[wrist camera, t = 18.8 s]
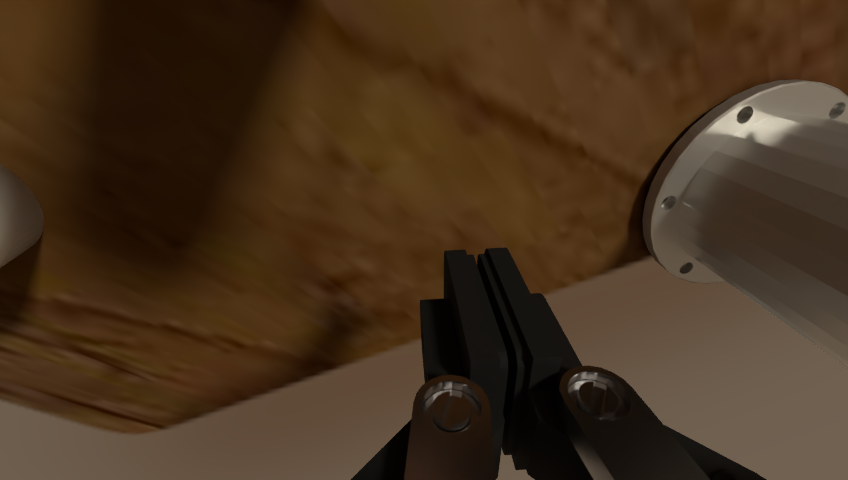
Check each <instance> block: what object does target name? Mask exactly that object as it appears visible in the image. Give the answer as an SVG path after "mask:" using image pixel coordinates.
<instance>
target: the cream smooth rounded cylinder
mask: <svg viewBox="0 0 848 480" xmlns="http://www.w3.org/2000/svg"><path fill="white" fill-rule="evenodd" d="M43 228H44V217H43V212H42V209H41V207H40V204H39V202H38V201H37V199H36V197H35V196H34V194H33V193H32V191H31V190H30V189H29V188H28V187H27V186H26V184H25V183H24V182H23V181H21V180H20V179H19V178H18V177H17V176H16V175H15V174H13V173H12V172H11V171H9V170H8V169H6V168H5V167H3V166H2V165H0V268H1V267H2V266H4V265H5V264H7V263H8V262H10V261H11V260H13V259H14V258H16V257H17V256H19V255H20V254H22V253H23V252H25V251H26V250H27V249H29V248H30V247H32V246H33V245H34V244H35V243H36V242H37V241H38V240H39V238H40V237H41V235H42V232H43Z"/></svg>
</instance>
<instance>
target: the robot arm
mask: <svg viewBox="0 0 848 480" xmlns="http://www.w3.org/2000/svg"><path fill="white" fill-rule="evenodd" d="M642 223H643V236H644V239H645V242H646V245H647V249H648V250H649V252H650V253H651V255H652V256H653V258H654V259H655V261H657V262H658V263H659V264H660V265H661V266H662V267H664V268H665V269H666V270H667V271H668V272H670V273H671V274H673V275H674V276H676V277H678V278H680V279H683V280H687V281H690V282H695V283H718V282H725V281H726V282H728V283H729V284H731V285H732V286H733V287H735V288H736V289H738V290H739V291H741V292H742V293H743V294H745V295H746V296H748V297H749V298H750V299H752V300H753V301H755V302H756V303H757V304H759V305H760V306H761V307H763V308H764V309H766V310H767V311H768V312H770V313H771V314H773V315H774V316H776V317H777V318H778V319H780V320H781V321H782V322H784V323H785V324H787V325H788V326H789V327H791V328H792V329H794V330H795V331H796V332H798V333H799V334H801V335H802V336H803V337H805V338H806V339H808V340H809V341H811V342H812V343H813V344H814V345H816V346H817V347H819V348H820V349H821V350H823V351H824V352H826V353H827V354H829V355H830V356H831V357H833V358H834V359H836V360H837V361H838V362H840V363H841V364H842V365H844V366H845V367H847V368H848V96H847V95H845V94H844V93H843V92H842V91H841V90H839V89H837V88H835V87H832V86H830V85H827V84H824V83H820V82H813V81H806V80H777V81H773V82H769V83H765V84H761V85H757V86H755V87H752V88H750V89H748V90H745V91H743V92H741V93H739V94H736V95H734V96H733V97H731V98H729V99H728V100H726V101H725V102H723V103H721V104H720V105H718V106H717V107H715V108H713V109H712V110H711V111H710V112H708V113H707V114H706V115H705V116H704V117H702V118H701V119H700V120H699V121H697V122H696V123H695V124H694V125H693V126H692V127H691V128H690V129H689V130H688V131H687V132H686V133H685V134H684V135H683V136H682V138H681V139H680V140H679V141H678V142H677V143H676V144H675V145H674V147H673V148H672V150H671V151H670V152H669V154H668V155H667V157H666V158H665V159H664V161H663V162H662V164H661V166H660V168H659V169H658V171H657V173H656V175H655V177H654V179H653V181H652V183H651V186H650V189H649V192H648V195H647V198H646V201H645V205H644V212H643V219H642ZM420 318H421V340H422V354H423V366H424V378H425V384H424V385H422V387H421V388H420V389H419V391H418V392H417V393H416V397H415V400H414V403H413V411H412V419H411V420H410V421H409V422H408V423H407V424H406V425H405V426H404V427H403V428H402V429H401V430H400V431H399V432H398V433H397V434H396V435H395V436H394V437H393V438H392V439H391V440H390V441H389V442H388V443H387V444H386V445H385V446H384V447H383V448H382V449H381V450H380V451H379V452H378V453H377V454H376V455H375V456H374V457H373V458H372V459H371V460H370V461H369V462H368V463H367V464H366V465H365V466H364V467H363V468H362V469H361V470H360V471H359V472H358V473H357V474H356V475H355V476H354V477H353V478H352V479H351V480H496V479H497V477H498V471H499V463H500V455H501V447H502V450H503V453H504V455H512V458H513V462H514V465H515V469H516V470H523V469H526V470H527V473H528V475H530V476H531V477H532V478H534V479H535V480H766V479H765V478H763V477H761V476H760V475H758V474H757V473H755V472H753V471H751V470H749V469H747V468H745V467H743V466H741V465H740V464H738V463H736V462H734V461H732V460H730V459H728V458H726V457H724V456H722V455H720V454H718V453H717V452H715V451H713V450H711V449H709V448H707V447H705V446H703V445H701V444H699V443H698V442H696V441H694V440H692V439H690V438H688V437H686V436H684V435H682V434H680V433H678V432H676V431H675V430H673V429H671V428H669V427H667V426H665V425H663V423H662V422H661V421H660V420H659V419H658V417H657V416H656V415H655V414H654V413H653V411H652V410H651V409H650V408H649V407H648V406H647V404H646V403H645V402H644V401H643V400H642V398H640V396H639V395H638V394H637V393H636V391H635V390H634V389H633V388H632V387H631V386H630V385H629V384H628V383H627V382H626V381H625V380H624V379H622V378H621V377H619V376H617V375H616V374H614V373H612V372H610V371H608V370H605V369H603V368H599V367H593V366H582V364H581V363H580V361H579V359H578V357H577V355H576V353H575V352H574V350H573V348H572V346H571V344H570V343H569V341H568V339H567V337H566V335H565V334H564V332H563V330H562V328H561V326H560V325H559V323H558V321H557V319H556V317H555V316H554V314H553V312H552V310H551V308H550V307H549V305H548V303H547V301H546V299H545V298H544V296H543V295H542V294H540V293H534V294H530V292H529V290H528V288H527V286H526V284H525V282H524V280H523V278H522V276H521V274H520V272H519V270H518V268H517V266H516V264H515V262H514V260H513V258H512V256H511V254H510V253H509V251H508V249H507V248H490V249H486V250H485V254H479V255H478V261H477V264H476V261H475V258H474V256H473V255H467V254H466V251H465V250H451V251H445V252H444V299H430V300H420Z"/></svg>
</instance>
